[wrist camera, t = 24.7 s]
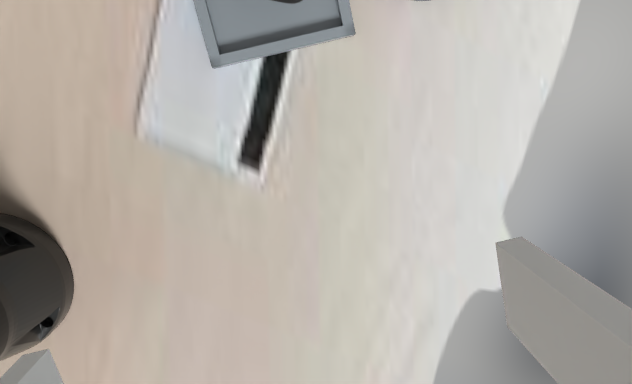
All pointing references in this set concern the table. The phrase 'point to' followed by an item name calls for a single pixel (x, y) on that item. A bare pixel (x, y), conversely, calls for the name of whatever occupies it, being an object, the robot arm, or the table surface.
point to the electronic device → (288, 1)
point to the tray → (269, 27)
